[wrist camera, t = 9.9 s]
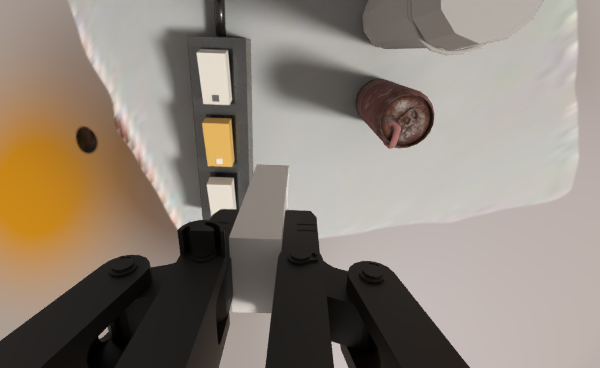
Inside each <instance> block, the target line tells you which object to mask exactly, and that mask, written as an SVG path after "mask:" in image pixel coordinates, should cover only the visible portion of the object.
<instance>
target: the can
mask: <svg viewBox="0 0 600 368" xmlns="http://www.w3.org/2000/svg"><path fill="white" fill-rule="evenodd" d="M356 108H357V111H358V114H359V115H360V117H361V118H362V119H363V120H364V121H365V123H366V124H367V125H368V126H369V127H370V128H371V129H372V130H373V131H374V132H375V134H376V135H377V136H378V137H379V138H380V139H381V140H382V141H383V143H384V145H385V146H387V147H388V148H390V149H391V148H394V147H395V148H408V147H411V146H413V145H416V144H418V143H419V142H421V141H422V140H424V139H425V138H426V136H427V135H428V134H429V133H430V131H431V128H432V126H433V122H434V110H433V106H432V103H431V102H430V100H429V99H428V97H427V96H425V95H424V94H423V93H421V92H420V91H417V90H414V89H411V88H408V87H405V86H402V85H399V84H396V83H393V82H390V81H387V80H384V79H377V80H373V81H370V82H368V83H367V84H366V85H364V86H363V87H362V88H361V90H360V91H359V93H358V96H357V99H356Z"/></svg>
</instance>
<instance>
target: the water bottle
mask: <svg viewBox="0 0 600 368" xmlns="http://www.w3.org/2000/svg"><path fill="white" fill-rule="evenodd" d="M543 1H544V0H368V2H367V4H366V7H365V9H364V12H363V14H362V20H363V31H364V33H365V34H366V36H367V37H368V39H369V40H370V42H371V43H372V44H374V45H377V46H379V47H381V48H384V49H405V48H428V49H429V50H430V51H433V52H437V53H440V54H444V55H457V54H465V53H468V52H471V51H474V50H477V49H480V48H483V47H484V46H485V45H486V44H487V43H491V42H495V41H500V40H504V39H508V38H509V37H510V36H512V35H513V34H514V33H516V32H517V31H518V30H520V29H521V28H522V27H524V26H525V25H526V24H528V23H529V22H530V21H532V20H533V19H534V17H535V15H536V13H537V12H538V10H539V8H540V6H541V5H542V3H543ZM467 47H469V48H467ZM439 48H443V49H439ZM462 48H465V49H462ZM444 49H446V50H444ZM456 49H460V50H456Z"/></svg>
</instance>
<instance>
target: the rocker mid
mask: <svg viewBox="0 0 600 368" xmlns="http://www.w3.org/2000/svg"><path fill="white" fill-rule="evenodd" d="M202 127H203V134H204V142H205V149H206V157H207V164H208V166H221V167H232V166H233V163H234V147H233V135H232V123H231V118H205V119H204V121H203V122H202Z"/></svg>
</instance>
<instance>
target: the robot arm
mask: <svg viewBox="0 0 600 368" xmlns="http://www.w3.org/2000/svg"><path fill="white" fill-rule="evenodd" d="M288 172H289V166H283V165H257V166H256V168H255V171H254V174H253V176H252V179H251V181H250V184H249V187H248V189H247V192H246V194H245V197H244V200H243V202H242V205H241V207H240V209H220V210H219V211H217V212H216V213H214V214H213V215H212V217H211V218H210V220H198V221H193V222H189V223H187V224H185V225H183V226H182V227H180V228H179V229H178V238H179V246H180V257H179V258H178V260H177V262H176V263H173V264H169V265H163V266H157V267H151V268H150V262H149V261H148V260H147V258H145V257H142V256H140V255H127V256H121V257H118V258H115V259H112V260H110V261H108V262H107V263H105V264H103V265H102V266H100V267H99V268H98V269H97V270H95V271H94V272H92V273H91V274H90V275H88V276H87V277H86V278H84V279H83V280H82V281H80V282H79V283H78V284H76V285H75V286H74V287H72V288H71V289H70V290H68V291H67V292H65V293H64V294H63V295H61V296H60V297H59V298H57V299H56V300H55V301H54V302H52V303H51V304H50V305H48V306H47V307H45V308H44V309H43V310H41V311H40V312H39V313H37V314H36V315H34V316H33V317H32V318H31V319H29V320H28V321H26V322H25V323H24V324H23V325H21V326H20V327H18V328H17V329H16V330H14V331H13V332H12V333H10V334H9V335H8V336H6V337H5V338H3V339H2V340H1V341H0V368H219V364H220V360H221V357H222V352H223V349H224V345H225V341H226V337H227V333H228V329H229V325H230V322H229V321H230V320H229V310H230V306H231V302H232V309H233V312H250V313H251V312H252V313H272V314H271V323H270V332H269V341H268V349H267V358H266V367H265V368H334V364H333V354H332V344H331V341H333V342H336V343H339V344H340V346H341V351H342V353H343V355H344V358H345V360H346V362H347V365H348V367H349V368H470V367H469V366H468V365H467V364H466V362H465V361H464V360H463V359H462V358H461V356H460V355H459V354H458V352H457V351H456V350H455V349H454V347H453V346H452V345H451V344H450V342H449V341H448V340H447V339H446V338H445V336H444V335H443V333H442V332H441V331H440V330H439V328H438V327H437V326H436V325H435V323H434V322H433V321H432V320H431V319H430V317H429V316H428V315H427V313H426V312H425V311H424V310H423V309H422V307H421V306H420V305H419V303H418V302H417V301H416V300H415V298H414V297H413V296H412V295H411V293H410V292H409V291H408V290H407V288H406V287H405V286H404V285H403V283H402V282H401V281H400V280H399V278H398V277H397V276H396V275H395V273H394V272H393V271H391V270H390V269H389V268H388V267H386V266H384V265H382V264H380V263H376V262H371V261H361V262H357V263H355V264H353V265H352V266H351V267H350V268H349V270H348V271H345V270H341V269H337V268H334V267H332V266H330V265H328V264H327V263H326V262H324V261H323V258H322V256H321V254H320V251H319V241H318V232H317V231H318V230H317V219H316V216H315V215H314V214H313V213H312V212H311V211H297V210H288ZM106 327H108V330H109V332H108V333H107V334H106V335H105V336H104V337H103V338H101V339H99V338H98V336H99V335H100V334H101V333H102V332H103V331H104V330H105V329H106Z"/></svg>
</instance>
